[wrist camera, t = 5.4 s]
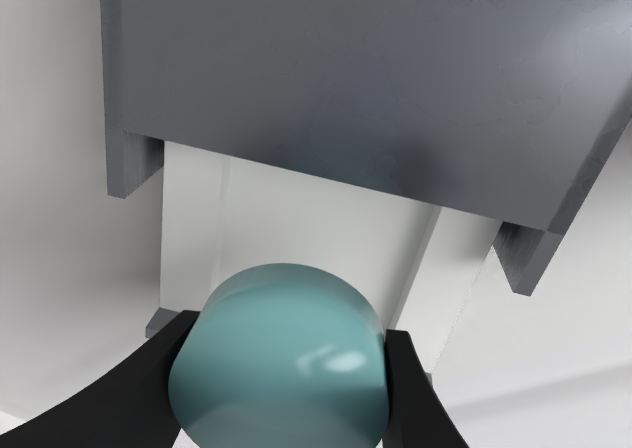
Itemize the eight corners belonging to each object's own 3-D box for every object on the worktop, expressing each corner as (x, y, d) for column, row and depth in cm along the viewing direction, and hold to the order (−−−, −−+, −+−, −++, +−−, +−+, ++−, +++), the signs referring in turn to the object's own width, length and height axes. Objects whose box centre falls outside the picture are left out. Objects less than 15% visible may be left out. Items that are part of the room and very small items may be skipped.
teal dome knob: (385, 262, 12) (390, 318, 10) (384, 413, 14) (388, 485, 12) (183, 263, 13) (146, 316, 10) (214, 408, 15) (189, 475, 13)
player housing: (651, -103, 14) (776, -141, 9) (497, 226, 20) (530, 296, 15) (180, -210, 14) (89, -296, 10) (167, 147, 20) (107, 194, 16)
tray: (514, 152, 17) (539, 185, 14) (423, 354, 23) (429, 407, 20) (185, 74, 17) (148, 92, 15) (174, 293, 23) (145, 337, 20)
